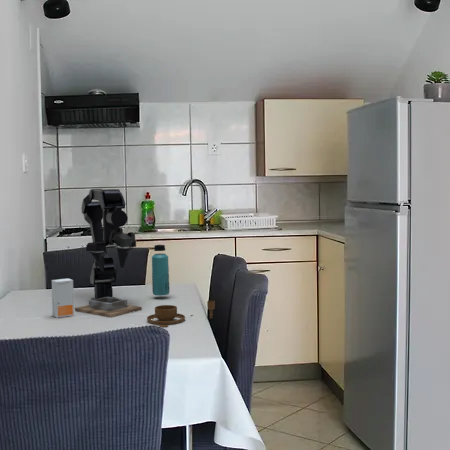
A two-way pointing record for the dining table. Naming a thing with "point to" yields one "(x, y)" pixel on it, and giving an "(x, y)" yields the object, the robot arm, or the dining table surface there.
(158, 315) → the place setting
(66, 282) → the skincare box
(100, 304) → the duct collar
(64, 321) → the dining table surface
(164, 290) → the beverage bottle
